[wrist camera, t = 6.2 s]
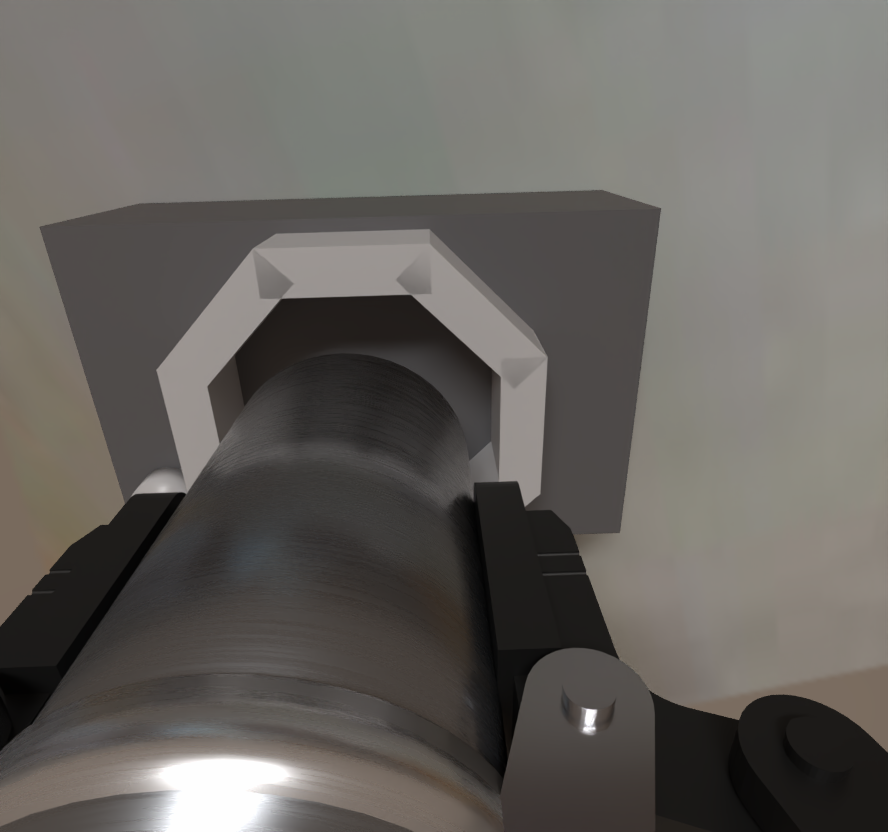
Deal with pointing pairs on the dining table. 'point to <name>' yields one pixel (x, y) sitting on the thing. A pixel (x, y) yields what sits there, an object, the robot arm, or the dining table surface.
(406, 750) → the lens
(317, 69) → the dining table surface
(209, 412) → the camera body
